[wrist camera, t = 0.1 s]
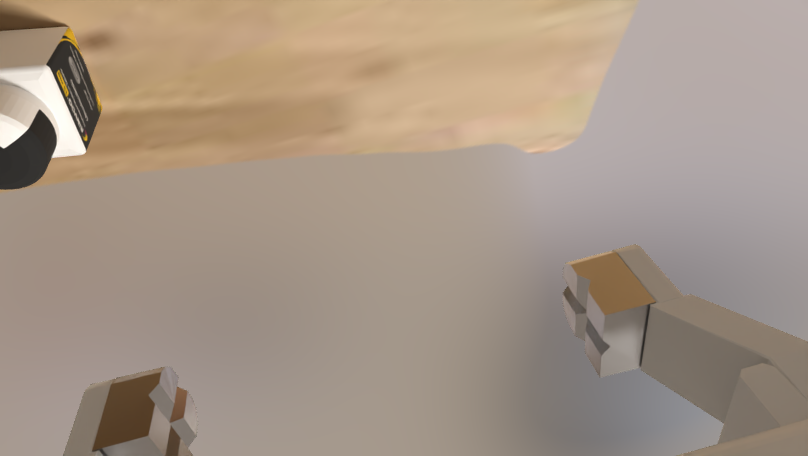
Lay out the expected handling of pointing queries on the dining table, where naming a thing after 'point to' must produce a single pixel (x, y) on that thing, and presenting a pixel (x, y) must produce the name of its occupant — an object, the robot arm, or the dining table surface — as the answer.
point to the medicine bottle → (42, 102)
